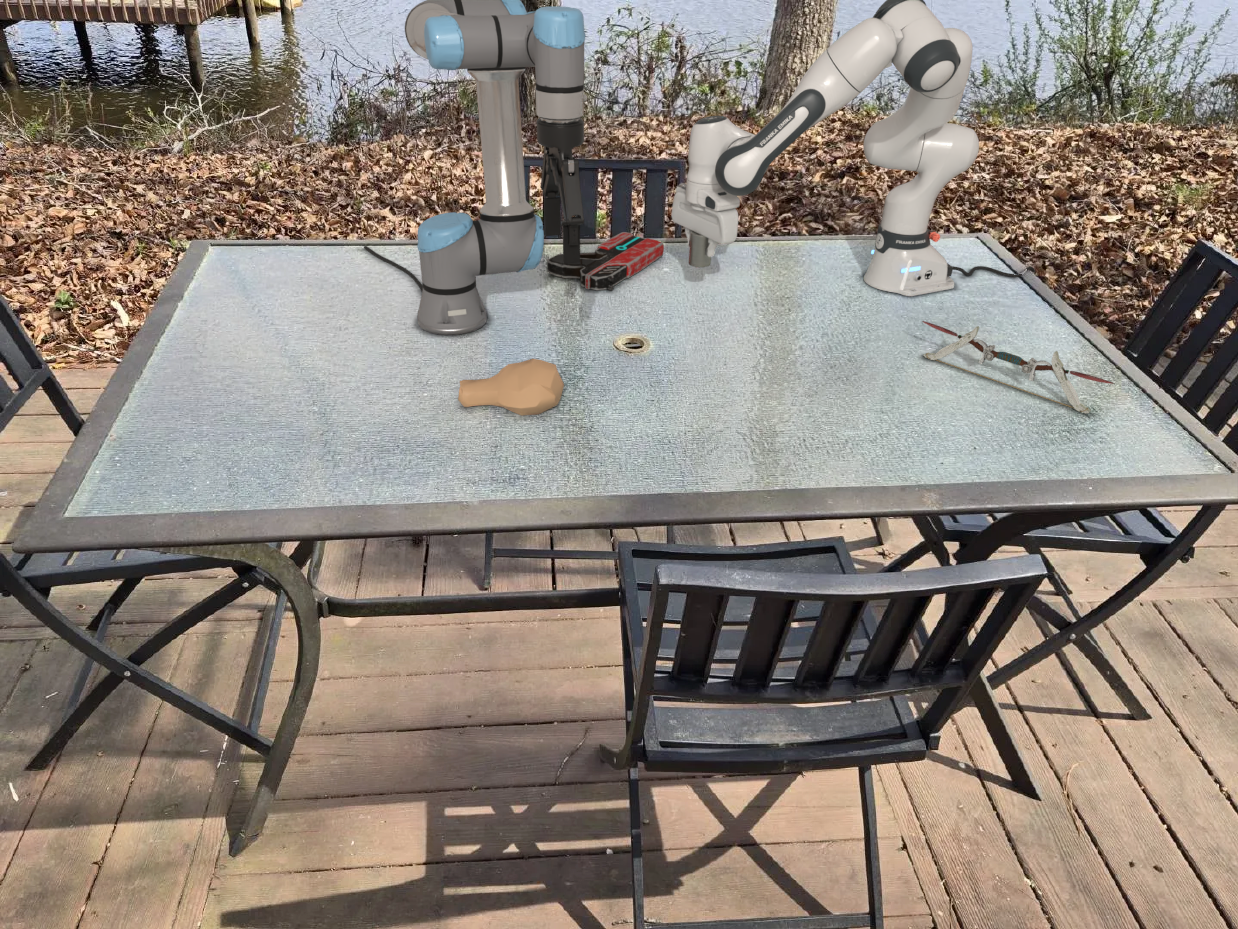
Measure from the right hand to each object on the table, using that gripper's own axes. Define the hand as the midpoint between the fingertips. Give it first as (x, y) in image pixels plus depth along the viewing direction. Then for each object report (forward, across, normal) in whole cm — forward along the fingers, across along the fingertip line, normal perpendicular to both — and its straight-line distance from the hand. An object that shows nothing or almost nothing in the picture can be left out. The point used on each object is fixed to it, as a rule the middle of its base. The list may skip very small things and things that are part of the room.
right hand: (700, 251), depth 205 cm
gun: (+12, -28, -8) cm, 31 cm away
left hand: (-19, +28, -54) cm, 64 cm away
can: (+3, 0, 0) cm, 3 cm away
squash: (+12, +23, -63) cm, 68 cm away
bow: (+12, +67, +27) cm, 73 cm away
